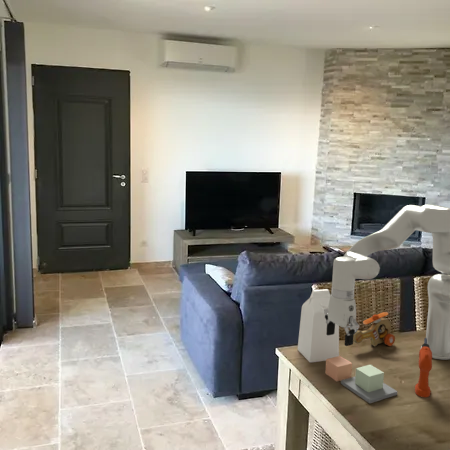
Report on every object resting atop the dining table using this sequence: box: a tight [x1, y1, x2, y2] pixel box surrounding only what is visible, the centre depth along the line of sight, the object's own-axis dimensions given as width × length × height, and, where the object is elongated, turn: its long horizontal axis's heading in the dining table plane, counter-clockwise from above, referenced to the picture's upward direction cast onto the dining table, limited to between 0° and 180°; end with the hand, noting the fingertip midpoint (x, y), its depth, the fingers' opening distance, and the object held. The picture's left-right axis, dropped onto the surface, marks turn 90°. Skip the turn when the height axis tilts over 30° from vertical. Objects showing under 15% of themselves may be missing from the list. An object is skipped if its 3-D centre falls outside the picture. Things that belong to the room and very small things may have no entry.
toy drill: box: [414, 337, 433, 398], centre depth 170 cm, size 5×19×15 cm, turn 159°
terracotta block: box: [324, 355, 353, 382], centre depth 177 cm, size 6×6×6 cm
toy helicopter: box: [353, 311, 396, 347], centre depth 200 cm, size 8×21×14 cm, turn 122°
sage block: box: [354, 364, 385, 392], centre depth 167 cm, size 6×6×6 cm
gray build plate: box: [340, 376, 398, 404], centre depth 168 cm, size 12×14×1 cm
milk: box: [297, 288, 340, 363], centre depth 191 cm, size 12×12×26 cm
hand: (339, 339), depth 174 cm, fingers open, 9 cm apart
